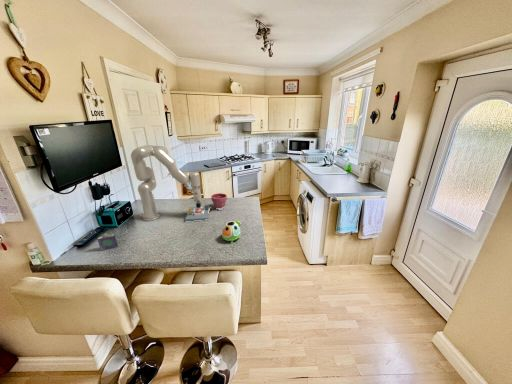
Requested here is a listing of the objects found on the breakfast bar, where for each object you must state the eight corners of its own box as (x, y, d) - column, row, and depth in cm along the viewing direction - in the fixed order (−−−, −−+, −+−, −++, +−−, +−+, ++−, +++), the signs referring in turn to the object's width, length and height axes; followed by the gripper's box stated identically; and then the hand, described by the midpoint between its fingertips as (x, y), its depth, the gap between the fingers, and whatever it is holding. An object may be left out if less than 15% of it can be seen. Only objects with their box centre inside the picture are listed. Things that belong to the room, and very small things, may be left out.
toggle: (199, 206, 182) (199, 201, 182) (200, 206, 183) (199, 201, 184) (201, 206, 182) (201, 201, 182) (201, 206, 183) (201, 201, 184)
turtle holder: (247, 233, 147) (247, 218, 143) (233, 245, 132) (232, 230, 128) (233, 228, 153) (233, 214, 149) (218, 240, 138) (217, 225, 134)
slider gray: (205, 210, 178) (204, 205, 177) (205, 208, 181) (205, 204, 180) (208, 209, 179) (208, 205, 177) (208, 208, 181) (208, 204, 180)
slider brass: (188, 214, 170) (187, 210, 169) (189, 212, 173) (188, 208, 171) (192, 214, 170) (191, 209, 169) (192, 212, 173) (192, 208, 172)
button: (195, 213, 169) (195, 211, 168) (196, 210, 173) (196, 208, 172) (200, 212, 169) (200, 210, 169) (201, 210, 173) (201, 208, 173)
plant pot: (229, 206, 193) (228, 193, 189) (224, 212, 181) (223, 199, 176) (215, 204, 196) (214, 192, 192) (209, 210, 184) (208, 197, 179)
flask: (100, 251, 127) (96, 236, 123) (101, 248, 129) (97, 234, 125) (117, 247, 131) (113, 233, 127) (118, 245, 133) (114, 231, 129)
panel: (185, 221, 163) (184, 217, 162) (191, 209, 186) (190, 205, 184) (207, 220, 165) (207, 215, 164) (210, 208, 188) (210, 204, 186)
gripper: (199, 189, 157) (201, 210, 163) (202, 184, 171) (204, 203, 177) (189, 190, 156) (192, 211, 162) (193, 184, 170) (195, 204, 176)
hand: (198, 207), depth 170 cm, fingers closed
